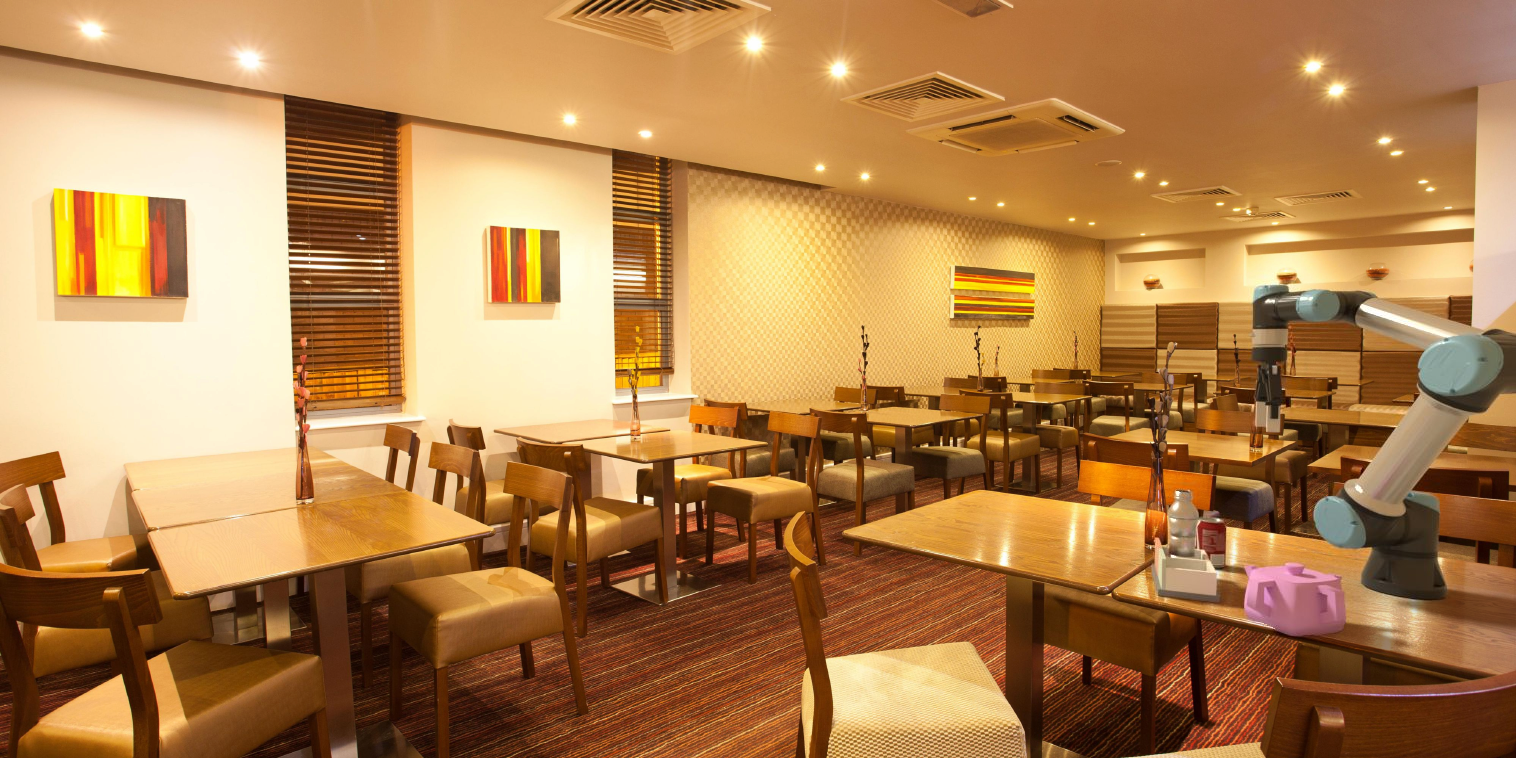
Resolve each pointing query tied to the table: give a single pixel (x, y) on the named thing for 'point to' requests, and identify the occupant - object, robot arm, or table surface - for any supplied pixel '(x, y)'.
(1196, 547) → the soda can
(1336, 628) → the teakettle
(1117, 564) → the table surface
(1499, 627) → the table surface
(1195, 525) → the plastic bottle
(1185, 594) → the socket board
